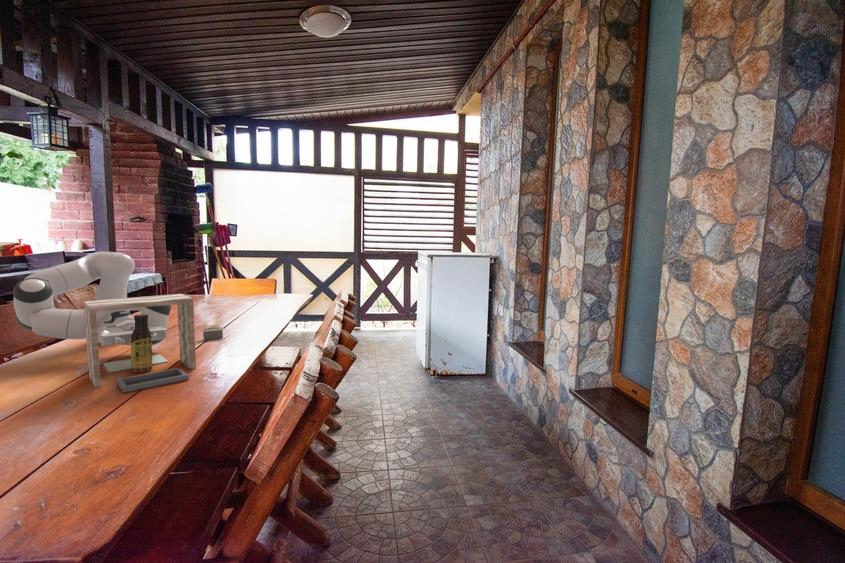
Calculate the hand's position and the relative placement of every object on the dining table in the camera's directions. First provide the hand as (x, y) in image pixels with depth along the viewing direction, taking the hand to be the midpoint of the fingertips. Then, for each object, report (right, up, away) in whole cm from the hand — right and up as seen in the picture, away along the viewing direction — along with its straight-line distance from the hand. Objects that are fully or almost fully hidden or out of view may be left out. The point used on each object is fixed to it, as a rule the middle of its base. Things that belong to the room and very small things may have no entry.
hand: (138, 340), depth 151 cm
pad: (-6, -10, +8) cm, 14 cm away
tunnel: (+3, -11, -2) cm, 12 cm away
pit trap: (+12, -12, -11) cm, 21 cm away
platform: (+4, -6, +45) cm, 46 cm away
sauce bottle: (+2, -11, 0) cm, 11 cm away
